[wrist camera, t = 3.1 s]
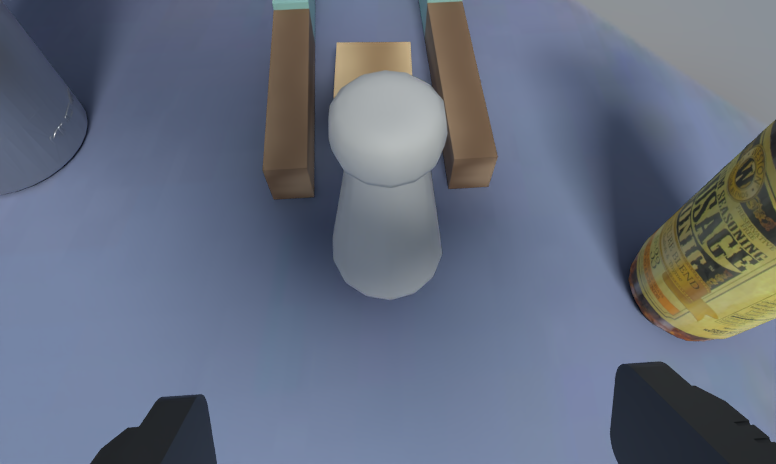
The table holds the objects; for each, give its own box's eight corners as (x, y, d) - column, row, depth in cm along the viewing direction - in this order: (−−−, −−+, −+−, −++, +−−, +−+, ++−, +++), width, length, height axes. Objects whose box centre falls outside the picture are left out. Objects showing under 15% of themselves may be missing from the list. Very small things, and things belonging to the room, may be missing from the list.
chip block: (337, 128, 33) (333, 96, 30) (340, 76, 35) (336, 42, 33) (411, 128, 33) (412, 95, 30) (408, 76, 35) (410, 42, 33)
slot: (273, 199, 30) (262, 170, 27) (281, 45, 37) (273, 10, 34) (488, 186, 30) (497, 156, 28) (457, 36, 37) (462, 1, 35)
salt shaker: (315, 276, 27) (264, 115, 16) (375, 206, 30) (367, 22, 18) (401, 334, 26) (411, 201, 14) (457, 255, 28) (504, 86, 17)
